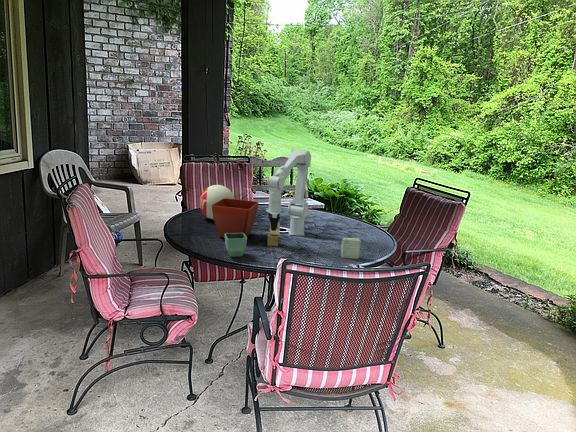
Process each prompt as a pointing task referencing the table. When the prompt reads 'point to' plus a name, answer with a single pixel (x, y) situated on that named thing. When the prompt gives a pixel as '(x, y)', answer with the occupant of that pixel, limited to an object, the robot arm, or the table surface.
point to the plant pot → (234, 216)
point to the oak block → (276, 229)
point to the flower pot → (235, 243)
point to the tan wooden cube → (272, 240)
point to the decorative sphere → (213, 198)
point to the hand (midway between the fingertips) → (273, 229)
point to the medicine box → (350, 248)
